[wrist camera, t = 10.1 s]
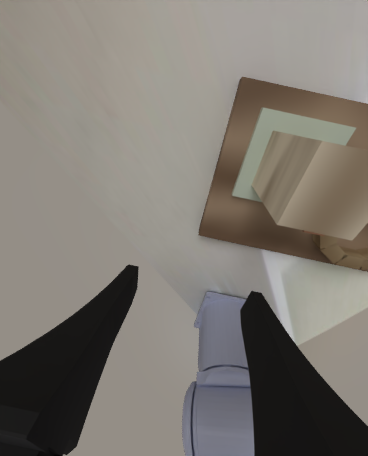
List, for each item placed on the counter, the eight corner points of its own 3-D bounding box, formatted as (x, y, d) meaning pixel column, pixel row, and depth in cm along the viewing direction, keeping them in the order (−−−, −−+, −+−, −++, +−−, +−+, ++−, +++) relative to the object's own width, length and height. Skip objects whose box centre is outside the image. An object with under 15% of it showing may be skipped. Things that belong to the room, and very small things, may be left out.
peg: (328, 142, 14) (420, 161, 8) (298, 196, 16) (351, 241, 10) (272, 130, 14) (322, 140, 8) (251, 186, 16) (276, 226, 10)
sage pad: (302, 209, 17) (304, 211, 17) (231, 193, 17) (232, 195, 17) (351, 127, 14) (356, 127, 13) (261, 107, 14) (263, 107, 13)
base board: (371, 266, 21) (391, 284, 19) (198, 229, 21) (197, 243, 19) (506, 137, 14) (566, 142, 11) (239, 79, 14) (246, 72, 11)
